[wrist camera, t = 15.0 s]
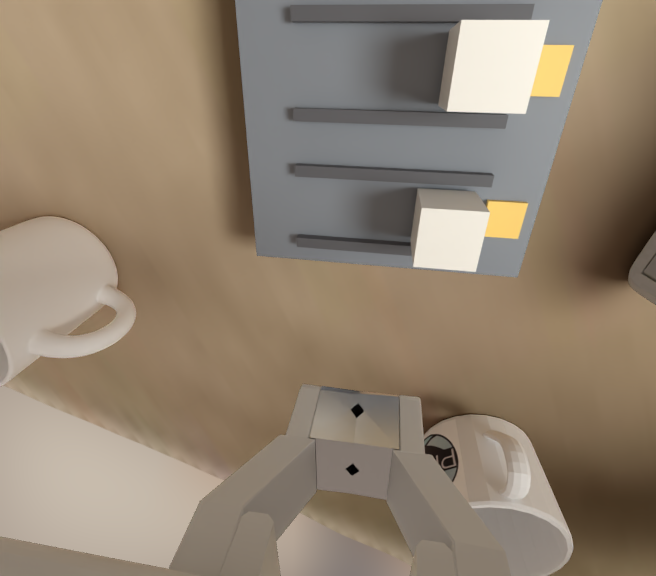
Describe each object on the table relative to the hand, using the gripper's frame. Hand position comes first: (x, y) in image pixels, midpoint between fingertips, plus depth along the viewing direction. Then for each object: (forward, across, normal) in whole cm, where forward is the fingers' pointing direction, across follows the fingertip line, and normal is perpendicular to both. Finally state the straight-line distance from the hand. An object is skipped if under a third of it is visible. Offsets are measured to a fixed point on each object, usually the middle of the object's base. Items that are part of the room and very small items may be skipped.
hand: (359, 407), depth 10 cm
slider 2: (+14, -4, -8) cm, 16 cm away
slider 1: (+14, -3, -1) cm, 14 cm away
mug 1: (+17, +23, +6) cm, 29 cm away
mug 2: (+17, -10, +21) cm, 29 cm away
